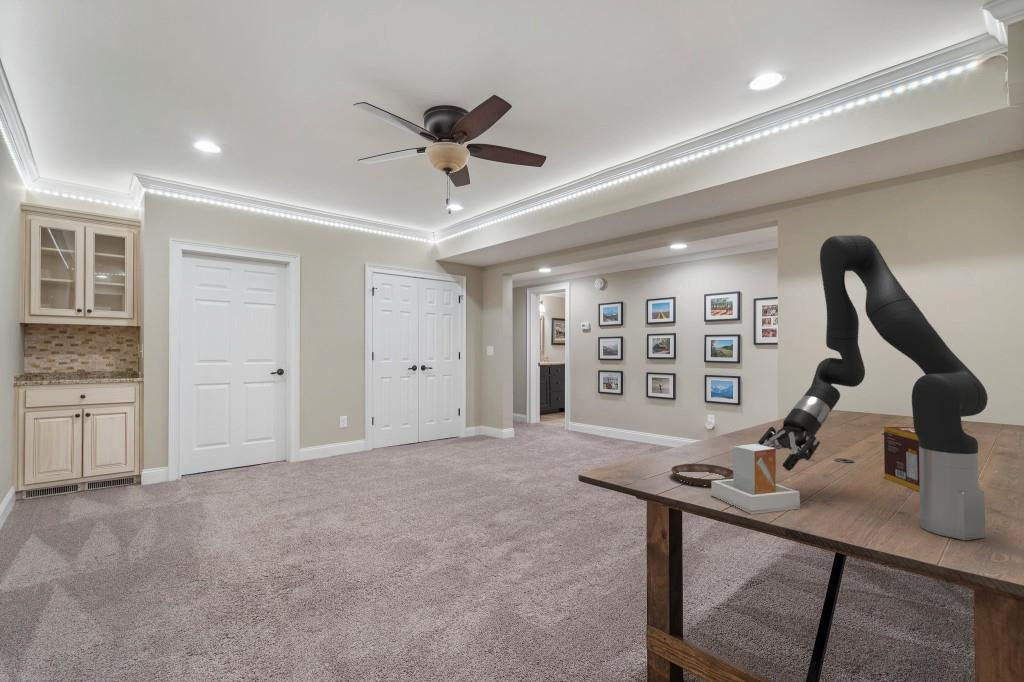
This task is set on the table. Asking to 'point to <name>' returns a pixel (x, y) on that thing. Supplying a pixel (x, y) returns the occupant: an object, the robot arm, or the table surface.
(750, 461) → the small box
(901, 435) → the supplement box
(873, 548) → the table surface
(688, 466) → the brown round ring
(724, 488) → the grey basin
